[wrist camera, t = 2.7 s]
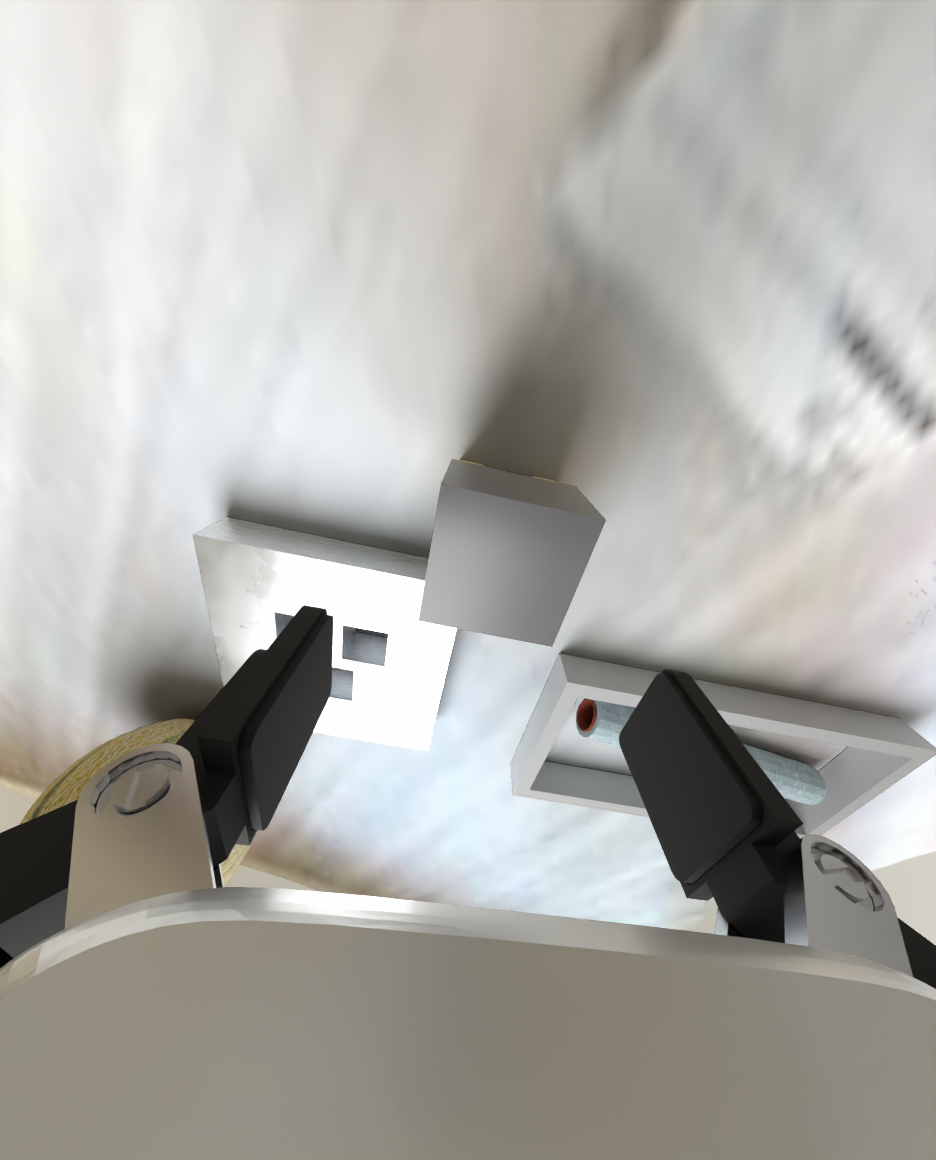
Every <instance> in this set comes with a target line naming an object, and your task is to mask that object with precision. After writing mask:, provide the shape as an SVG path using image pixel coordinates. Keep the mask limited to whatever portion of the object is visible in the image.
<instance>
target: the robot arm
mask: <svg viewBox="0 0 936 1160" xmlns="http://www.w3.org/2000/svg"><path fill="white" fill-rule="evenodd" d="M332 657H333V616H332V615H327V610H326V609H324V608H318V607H313V606H307V605H304V606H302V607H301V608H300V609H299V611H298V612H297V613H296V614H295V616H294V617H293V618H292V619H291V620H290V622H289V623H288V624H287V625H286V627H285V628H284V629H283V630H282V632H281V633H280V634H279V635H278V637H277V638H276V639H275V640H274V642H273V643H272V644H271V645H270V646H269V648H268V649H267V650H264V649H258V650H256V651H255V652H254V653H253V654H251V656H250V657H249V658H248V659H247V660H246V661H245V663H244V664H243V665H242V666H241V667H240V668H239V670H238V671H237V672H236V673H235V674H234V675H233V677H232V678H231V679H230V680H229V681H228V683H227V684H226V685H225V686H224V687H223V688H222V690H221V691H220V692H219V693H218V694H217V695H216V697H215V698H214V699H213V700H212V701H211V702H210V704H209V705H208V706H207V707H206V708H205V709H204V711H203V712H202V713H201V714H200V715H199V717H198V718H197V719H196V720H195V721H194V722H193V724H192V725H191V726H190V727H189V728H188V729H187V731H186V732H185V733H184V734H183V735H182V736H181V738H180V739H179V740H178V741H177V742H176V744H171V743H161V744H152V745H148V746H144V747H140V748H137V749H135V750H132V751H130V752H128V753H125V754H123V755H121V756H119V757H118V758H116V759H115V760H113V761H111V762H110V763H108V764H107V765H105V766H104V767H103V768H102V769H101V770H99V771H98V772H97V773H96V774H95V775H94V776H93V777H92V778H91V779H90V780H89V781H88V783H87V784H86V786H85V787H84V788H83V790H82V791H81V792H80V795H79V798H78V800H76V801H73V802H71V803H69V804H66V805H64V806H62V807H60V808H57V809H55V810H53V811H50V812H48V813H46V814H43V815H41V816H39V817H36V818H34V819H32V820H29V821H27V822H25V823H23V824H20V825H18V826H16V827H13V828H11V829H9V830H6V831H4V832H2V833H0V1160H936V946H935V945H934V944H933V943H931V942H930V941H929V940H927V939H926V938H925V937H923V936H922V935H921V934H919V933H918V932H916V931H915V930H914V929H912V928H911V927H910V926H908V925H907V924H906V923H904V922H903V921H902V920H900V919H899V918H897V915H896V911H895V907H894V905H893V903H892V901H891V899H890V896H889V894H888V893H887V891H886V890H885V888H884V887H883V885H882V884H881V882H880V881H879V880H878V879H877V878H876V877H875V876H874V874H873V873H872V872H871V871H870V870H869V869H868V868H867V867H866V866H865V865H864V864H863V863H862V862H861V861H860V860H859V859H858V858H856V857H855V856H854V855H853V854H852V853H850V852H849V851H847V850H846V849H845V848H843V847H842V846H841V845H839V844H837V843H835V842H834V841H832V840H830V839H828V838H826V837H823V836H820V835H817V834H807V835H806V836H804V837H802V838H801V839H800V838H799V836H798V835H797V834H796V832H795V830H796V829H798V828H799V827H800V826H801V825H803V822H802V821H801V820H800V818H799V817H798V816H797V814H796V813H795V812H794V810H793V809H792V808H791V807H790V805H789V804H788V803H787V801H786V800H785V799H784V797H783V796H782V795H781V793H780V792H779V791H778V789H777V788H776V787H775V786H774V784H773V783H772V782H771V780H770V779H769V778H768V776H767V775H766V774H765V772H764V771H763V770H762V769H761V767H760V766H759V765H758V763H757V762H756V761H755V759H754V758H753V757H752V755H751V754H750V753H749V752H748V750H747V749H746V748H745V746H744V745H743V744H742V742H741V741H740V740H739V738H738V737H737V736H736V734H735V733H734V732H733V731H732V729H731V728H730V727H729V725H728V724H727V723H726V721H725V720H724V719H723V717H722V716H721V715H720V714H719V712H718V711H717V710H716V708H715V707H714V706H713V704H712V703H711V702H710V700H709V699H708V698H707V697H706V695H705V694H704V693H703V691H702V690H701V689H700V687H699V686H698V685H697V683H696V682H695V681H694V679H693V678H692V677H691V676H690V675H689V674H687V673H684V672H679V671H673V670H664V671H662V672H661V674H657V675H656V676H655V678H654V679H653V681H652V683H651V684H650V686H649V687H648V689H647V691H646V692H645V694H644V695H643V697H642V698H641V700H640V702H639V703H638V705H637V706H636V708H635V710H634V711H633V713H632V714H631V716H630V718H629V719H628V721H627V722H626V724H625V726H624V727H623V729H622V730H621V732H620V735H619V744H620V747H621V749H622V752H623V754H624V757H625V759H626V762H627V764H628V766H629V769H630V771H631V774H632V776H633V779H634V781H635V783H636V786H637V788H638V791H639V793H640V796H641V798H642V800H643V803H644V805H645V808H646V810H647V813H648V815H649V817H650V820H651V822H652V825H653V827H654V830H655V832H656V834H657V837H658V839H659V842H660V844H661V847H662V849H663V851H664V854H665V856H666V859H667V861H668V863H669V866H670V868H671V871H672V873H673V875H674V876H675V878H676V879H677V880H678V881H680V883H681V885H682V887H683V890H684V892H685V895H686V897H687V898H691V899H699V900H709V899H711V898H712V897H714V899H715V901H716V903H717V905H718V910H717V917H716V925H715V933H714V934H709V933H700V932H691V931H683V930H675V929H666V928H657V927H649V926H640V925H632V924H623V923H614V922H605V921H596V920H587V919H578V918H569V917H560V916H551V915H542V914H533V913H524V912H515V911H506V910H497V909H487V908H478V907H468V906H459V905H449V904H440V903H430V902H421V901H411V900H402V899H392V898H383V897H374V896H364V895H352V894H340V893H328V892H316V891H304V890H293V889H281V888H245V887H225V888H224V883H223V877H222V871H221V866H220V864H221V863H222V862H224V861H225V860H227V859H228V857H229V855H230V853H231V851H232V849H233V847H234V846H235V844H239V845H248V846H250V844H251V842H252V840H253V838H254V836H255V834H256V832H257V830H265V829H266V828H267V826H268V825H269V823H270V821H271V819H272V817H273V815H274V813H275V811H276V808H277V806H278V804H279V802H280V800H281V798H282V796H283V794H284V792H285V790H286V787H287V785H288V783H289V781H290V779H291V777H292V775H293V773H294V771H295V769H296V766H297V764H298V762H299V760H300V758H301V756H302V754H303V752H304V750H305V748H306V745H307V743H308V741H309V739H310V737H311V735H312V733H313V731H314V729H315V727H316V724H317V722H318V720H319V718H320V716H321V714H322V712H323V710H324V708H325V706H326V703H327V701H328V699H329V696H330V693H331V688H332Z"/></svg>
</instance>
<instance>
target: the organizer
mask: <svg viewBox="0 0 936 1160" xmlns="http://www.w3.org/2000/svg"><path fill="white" fill-rule="evenodd" d="M657 674H661V673H660V672H655V671H650V670H644V669H639V668H634V667H629V666H623V665H618V664H613V663H608V662H603V661H597V660H592V659H587V658H582V657H576V656H571V655H566V654H561V653H559V655H558V658H557V660H556V662H555V664H554V667H553V669H552V671H551V673H550V676H549V678H548V680H547V682H546V685H545V687H544V689H543V691H542V694H541V696H540V698H539V700H538V703H537V705H536V707H535V709H534V712H533V714H532V716H531V718H530V721H529V723H528V725H527V727H526V730H525V732H524V734H523V736H522V739H521V741H520V743H519V745H518V748H517V750H516V752H515V754H514V757H513V759H512V761H511V778H512V793H513V795H516V796H522V797H528V798H534V799H540V800H546V801H553V802H559V803H565V804H571V805H577V806H583V807H589V808H596V809H602V810H608V811H614V812H620V813H626V814H632V815H639V816H645V817H649V815H648V813H647V810H646V808H645V805H644V803H643V800H642V798H641V796H640V793H639V791H638V788H637V786H636V783H635V781H634V779H633V776H629V775H623V774H617V773H611V772H605V771H599V770H593V769H588V768H582V767H576V766H570V765H564V764H558V763H552V762H546V761H545V759H546V757H547V755H548V753H549V751H550V749H551V747H552V746H553V744H554V742H555V740H556V738H557V736H558V734H559V732H560V730H561V728H562V726H563V724H564V723H565V721H566V719H567V717H568V715H569V713H570V711H571V709H572V707H573V705H574V703H575V701H576V700H577V698H578V697H581V698H586V699H591V700H597V701H602V702H608V703H613V704H619V705H624V706H630V707H635V708H636V706H637V705H638V703H639V702H640V700H641V698H642V697H643V695H644V694H645V692H646V691H647V689H648V687H649V686H650V684H651V683H652V681H653V679H654V678H655V676H656V675H657ZM694 681H695V682H696V683H697V685H698V686H699V687H700V689H701V690H702V691H703V693H704V694H705V695H706V697H707V698H708V699H709V700H710V702H711V703H712V704H713V706H714V707H715V708H716V710H717V711H718V712H719V714H720V715H721V716H722V717H723V719H724V720H725V721H726V723H727V724H728V725H733V726H739V727H744V728H749V729H755V730H760V731H766V732H771V733H777V734H782V735H788V736H793V737H799V738H804V739H809V740H815V741H820V742H826V743H831V744H837V745H842V746H848V747H847V748H846V749H845V750H844V751H843V752H841V753H840V754H839V755H838V756H837V757H835V758H834V759H833V760H832V761H831V762H829V763H828V764H827V765H826V766H825V767H823V768H822V769H821V770H820V771H819V773H820V774H821V776H822V777H823V779H824V781H825V784H826V789H827V791H826V795H825V798H824V799H823V800H822V801H821V802H820V803H818V804H814V805H809V804H803V803H800V802H796V801H793V800H790V799H787V798H786V799H785V800H786V801H787V803H788V804H789V805H790V807H791V808H792V809H793V810H794V812H795V813H796V814H797V816H798V817H799V818H800V820H801V821H802V822H803V825H801V826H800V827H799V828H798V829H796V830H795V832H796V834H797V835H798V836H799V838H800V839H801V838H802V837H804V836H806V835H807V834H817V835H820V836H821V835H822V834H823V833H825V832H826V831H828V830H829V829H831V828H832V827H833V826H835V825H836V824H838V823H839V822H841V821H842V820H843V819H845V818H846V817H848V816H849V815H851V814H852V813H853V812H855V811H856V810H858V809H859V808H861V807H862V806H863V805H865V804H866V803H868V802H869V801H871V800H872V799H873V798H875V797H876V796H878V795H879V794H881V793H882V792H883V791H885V790H886V789H888V788H889V787H890V786H892V785H893V784H895V783H896V782H898V781H899V780H900V779H902V778H903V777H905V776H906V775H908V774H909V773H910V772H912V771H913V770H915V769H916V768H918V767H919V766H920V765H922V764H923V763H925V762H926V761H928V760H929V759H930V758H932V757H933V756H935V755H936V748H935V747H934V746H933V745H932V744H930V743H929V742H928V741H927V740H925V739H924V738H923V737H922V736H920V735H919V734H918V733H917V732H915V731H914V730H913V729H912V728H910V727H909V726H908V725H907V724H905V723H904V722H903V721H902V720H900V719H899V718H895V717H890V716H885V715H880V714H874V713H869V712H864V711H859V710H854V709H848V708H843V707H838V706H833V705H827V704H822V703H817V702H812V701H806V700H801V699H796V698H791V697H786V696H780V695H775V694H770V693H765V692H759V691H754V690H749V689H744V688H739V687H733V686H728V685H723V684H718V683H712V682H707V681H702V680H697V679H694Z"/></svg>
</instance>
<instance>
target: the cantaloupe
mask: <svg viewBox="0 0 936 1160" xmlns="http://www.w3.org/2000/svg"><path fill="white" fill-rule="evenodd" d="M194 721H195V720H192V719H185V718H182V719H172V720H167V721H163V722H159V723H155V724H152V725H149V726H145V727H140V728H138V729H135V730H133V731H131V732H128V733H125V734H122V735H120V736H118V737H116V738H114V739H111V740H109V741H107V742H106V743H104V744H102V745H100V746H98V747H97V748H95V749H94V750H92V751H91V752H89V753H88V754H86V755H85V756H83V757H82V758H80V759H79V760H77V761H76V762H75V763H74V764H73V765H71V766H70V767H69V768H67V769H66V770H65V771H64V772H63V773H62V774H61V775H60V776H59V777H58V778H56V779H55V780H54V781H53V782H52V783H51V784H50V785H49V786H48V788H47V789H46V790H45V791H44V792H43V793H42V795H41V796H40V797H39V798H38V799H37V800H36V802H35V803H34V804H33V805H32V807H31V808H30V809H29V811H28V812H27V814H26V815H25V817H24V818H23V820H22V822H21V823H20V824H23V823H25V822H27V821H29V820H32V819H34V818H36V817H39V816H41V815H43V814H46V813H48V812H50V811H53V810H55V809H57V808H60V807H62V806H64V805H66V804H69V803H71V802H73V801H76V800H78V798H79V795H80V792H81V791H82V790H83V788H84V787H85V786H86V784H87V783H88V781H89V780H90V779H91V778H92V777H93V776H94V775H95V774H96V773H97V772H98V771H99V770H101V769H102V768H103V767H104V766H105V765H107V764H108V763H110V762H111V761H113V760H115V759H116V758H118V757H119V756H121V755H123V754H125V753H128V752H130V751H132V750H135V749H137V748H140V747H144V746H148V745H152V744H161V743H171V744H176V742H177V741H178V740H179V739H180V738H181V736H182V735H183V734H184V733H185V732H186V731H187V729H188V728H189V727H190V726H191V725H192V724H193V722H194ZM255 835H256V834H255ZM254 837H255V836H254ZM253 839H254V838H253ZM252 841H253V840H252ZM251 843H252V842H251ZM250 845H251V844H250ZM249 848H250V846H248V845H239V844H235V846H234V847H233V849H232V851H231V853H230V855H229V857H228V859H227V860H225V861H224V862H222V863H221V864H220V866H221V871H222V877H223V883H224V884H225V883H226V881H227V880H228V879H229V878H230V877H231V876H232V874H233V873H234V871H235V870H236V868H237V867H238V865H239V863H240V862H241V861H242V859H243V858H244V857H245V855H246V853H247V851H248V849H249Z"/></svg>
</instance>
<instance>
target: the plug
mask: <svg viewBox="0 0 936 1160" xmlns="http://www.w3.org/2000/svg"><path fill="white" fill-rule="evenodd" d="M605 521H606V520H605V518H604V517H603V516H602V515H601V514H600V513H599V512H598V511H597V510H596V508H595V507H594V506H593V505H592V504H591V503H590V502H589V501H588V500H587V498H586V497H585V496H584V495H583V494H582V493H581V492H580V491H579V490H578V488H577V487H575V486H571V485H566V484H562V483H558V482H557V481H554V480H550V479H546V478H541V477H537V476H533V477H531V476H526V475H522V474H517V473H513V472H508V471H504V470H499V469H495V468H490V467H486V466H484V465H483V464H479V463H474V462H470V461H465V460H461V459H460V461H459V460H455V459H452V461H451V463H450V465H449V467H448V470H447V472H446V474H445V476H444V479H443V481H442V483H441V488H440V494H439V500H438V506H437V512H436V518H435V524H434V530H433V536H432V541H431V547H430V553H429V559H428V565H427V571H426V577H425V583H424V589H423V595H422V601H421V607H420V613H419V619H418V621H421V622H426V623H432V624H437V625H442V626H447V627H452V628H458V629H463V630H468V631H473V632H478V633H484V634H489V635H494V636H499V637H504V638H510V639H515V640H520V641H525V642H530V643H536V644H541V645H546V646H551V647H552V646H553V643H554V641H555V639H556V636H557V634H558V632H559V629H560V627H561V625H562V622H563V620H564V617H565V615H566V613H567V610H568V608H569V606H570V603H571V601H572V599H573V596H574V594H575V592H576V589H577V587H578V585H579V582H580V580H581V578H582V575H583V573H584V570H585V568H586V566H587V563H588V561H589V559H590V556H591V554H592V552H593V549H594V547H595V545H596V542H597V540H598V538H599V535H600V533H601V530H602V528H603V526H604V523H605Z"/></svg>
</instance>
